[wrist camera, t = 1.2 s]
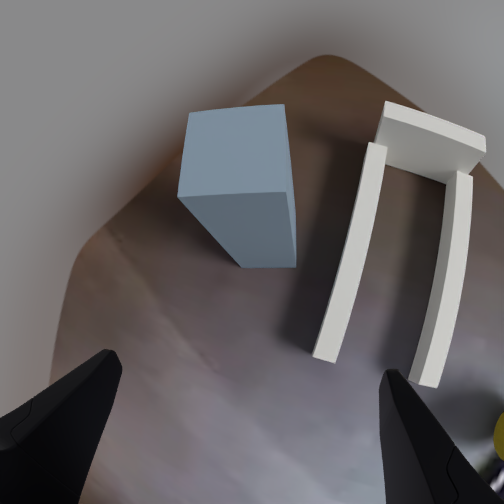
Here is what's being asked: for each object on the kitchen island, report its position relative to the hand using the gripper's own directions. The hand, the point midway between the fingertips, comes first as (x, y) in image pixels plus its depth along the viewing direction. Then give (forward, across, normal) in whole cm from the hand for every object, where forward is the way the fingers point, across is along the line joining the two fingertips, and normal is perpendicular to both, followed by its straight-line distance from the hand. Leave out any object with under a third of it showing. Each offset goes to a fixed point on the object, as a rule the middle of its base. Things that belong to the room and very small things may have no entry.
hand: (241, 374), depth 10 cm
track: (+14, -9, +4) cm, 17 cm away
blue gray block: (+15, +1, +3) cm, 16 cm away
